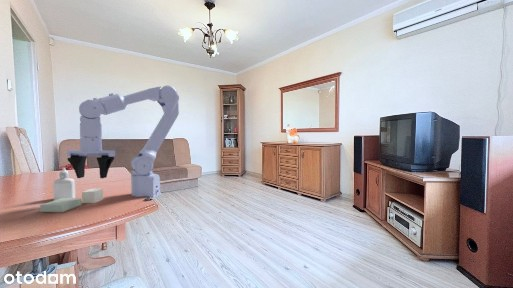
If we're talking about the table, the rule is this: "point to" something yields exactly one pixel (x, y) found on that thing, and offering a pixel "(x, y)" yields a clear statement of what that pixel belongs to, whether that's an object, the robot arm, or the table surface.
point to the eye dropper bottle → (64, 186)
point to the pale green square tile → (64, 211)
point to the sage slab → (60, 205)
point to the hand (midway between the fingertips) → (92, 177)
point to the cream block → (92, 195)
